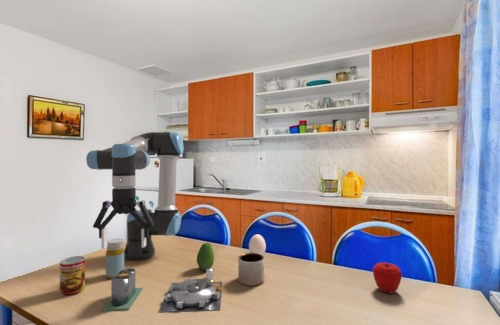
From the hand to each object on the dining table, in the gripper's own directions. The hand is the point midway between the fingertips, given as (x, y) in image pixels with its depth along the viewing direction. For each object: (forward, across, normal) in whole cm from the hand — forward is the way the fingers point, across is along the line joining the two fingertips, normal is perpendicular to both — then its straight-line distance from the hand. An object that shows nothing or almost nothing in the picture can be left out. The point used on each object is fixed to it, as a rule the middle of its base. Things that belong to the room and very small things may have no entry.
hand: (124, 246), depth 94 cm
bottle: (+19, -12, +20) cm, 30 cm away
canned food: (+19, -22, +7) cm, 29 cm away
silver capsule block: (+18, 0, 0) cm, 18 cm away
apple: (+19, +97, 0) cm, 99 cm away
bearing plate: (+19, +24, +1) cm, 31 cm away
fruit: (+19, +26, +24) cm, 40 cm away
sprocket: (+19, +24, +1) cm, 31 cm away
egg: (+19, +51, +38) cm, 67 cm away
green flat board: (+19, 0, 0) cm, 19 cm away
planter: (+19, +46, +12) cm, 52 cm away
